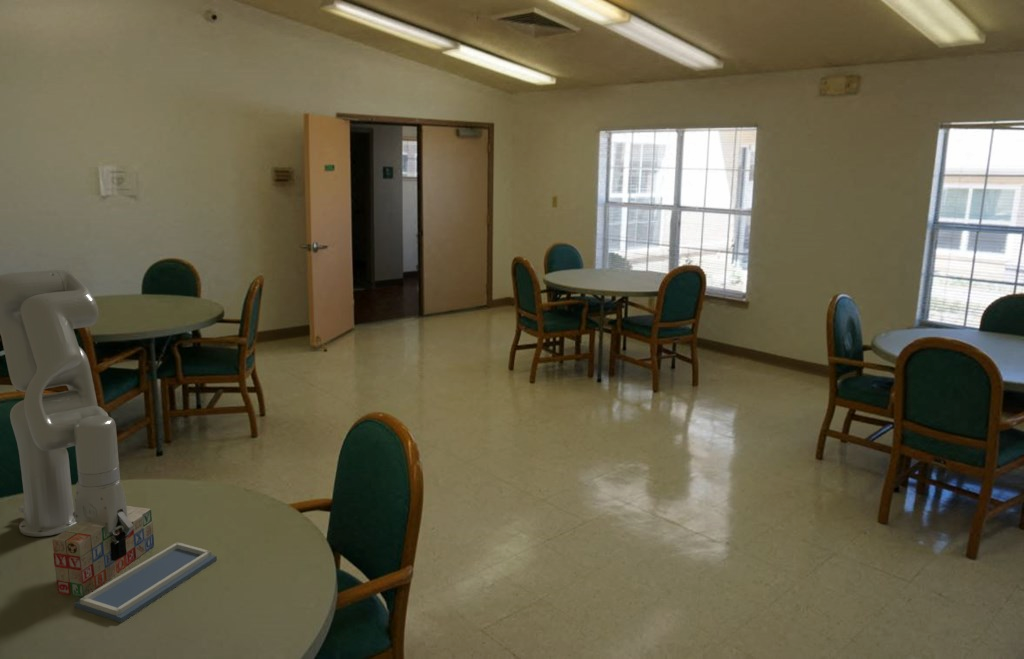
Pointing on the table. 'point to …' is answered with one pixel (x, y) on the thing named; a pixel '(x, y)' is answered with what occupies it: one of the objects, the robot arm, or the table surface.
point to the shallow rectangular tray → (146, 582)
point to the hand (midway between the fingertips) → (105, 553)
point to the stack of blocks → (97, 553)
